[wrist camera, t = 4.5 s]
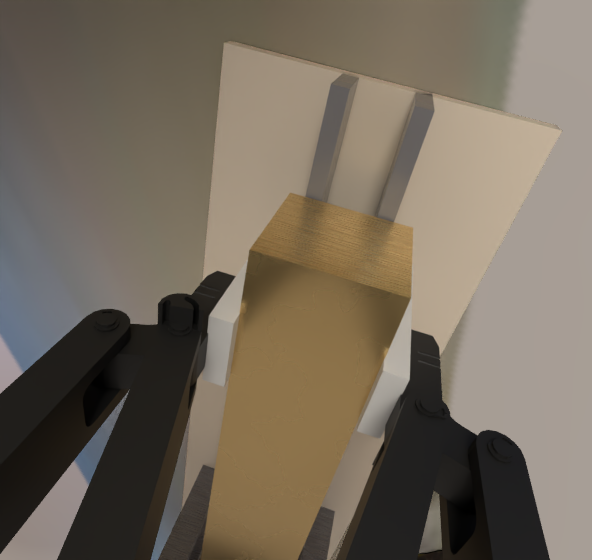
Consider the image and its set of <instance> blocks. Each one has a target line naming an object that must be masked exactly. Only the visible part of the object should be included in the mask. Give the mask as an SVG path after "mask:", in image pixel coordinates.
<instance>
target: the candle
mask: <svg viewBox="0 0 592 560" xmlns="http://www.w3.org/2000/svg"><path fill="white" fill-rule="evenodd" d="M417 560H443V551H437V552H432V553H428V554H418V557H417Z"/></svg>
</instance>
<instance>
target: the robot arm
mask: <svg viewBox="0 0 592 560" xmlns="http://www.w3.org/2000/svg"><path fill="white" fill-rule="evenodd" d="M247 262H248V259H247V261H246V262H245V264H244V265H243V267H242V268H241V270H240V271H239V273H238V274H237V275H236V276H233V275H230V274H227V273H224V272H220V271H216V272H214V273H212V274H210V275H208V276H206V278H205V279H204V280H203V281H202V283H201V284H200V286H198V288H197V289H196V290H195V292H194V293H193V294H192V295H188V294H178V293H177V294H172V295H168V296H166V297H165V298H163V299H162V300H161V301H160V302H159V303H158V324H156V325H140V324H130V318H129V317H128V316H127V314H125V313H123V312H121V311H119V310H114V309H102V310H99V311H95V312H93V313H91V314H90V315H88V316H86V317H85V318H84V319H83V320H82V321H81V322H80V323H79V324H78V325H76V326H75V327H74V328H73V329H72V330H71V331H70V332H69V333H67V334H66V335H65V336H64V337H63V338H62V339H61V340H60V341H59V342H57V343H56V344H55V345H54V346H53V347H52V348H51V349H50V350H49V351H47V352H46V353H45V354H44V355H43V356H42V357H41V358H40V359H38V360H37V361H36V362H35V363H34V364H33V365H32V366H31V367H30V368H28V369H27V370H26V371H25V372H24V373H23V374H22V375H21V376H20V377H18V379H16V380H15V381H14V382H13V383H12V384H11V385H10V386H8V387H7V388H6V389H5V390H4V391H3V392H2V393H1V394H0V554H1V552H2V551H3V550H4V548H5V547H6V546H7V545H8V543H9V542H10V541H11V540H12V538H13V537H14V536H15V534H16V533H17V532H18V531H19V529H20V528H21V527H22V526H23V524H24V523H25V522H26V521H27V519H28V518H29V517H30V515H31V514H32V513H33V512H34V510H35V509H36V508H37V507H38V505H39V504H40V503H41V501H42V500H43V499H44V497H45V496H46V495H47V494H48V493H49V491H50V490H51V489H52V487H53V486H54V485H55V484H56V482H57V481H58V480H59V479H60V477H61V476H62V474H64V472H65V471H66V470H67V468H68V467H69V466H70V465H71V463H72V462H73V461H74V460H75V458H76V457H77V456H78V454H79V453H80V452H81V451H82V449H83V448H84V447H85V446H86V444H87V443H88V442H89V440H90V439H91V438H92V437H93V435H94V434H95V433H96V432H97V430H98V429H99V428H100V427H101V425H102V424H103V423H104V421H105V420H106V419H107V418H108V416H109V415H110V414H111V413H112V411H113V410H114V409H115V407H116V406H117V405H118V404H119V402H120V401H121V400H122V399H123V397H124V396H125V395H126V393H127V392H128V391H129V389H130V391H129V393H128V396H127V398H126V400H125V403H124V405H123V407H122V410H121V412H120V414H119V417H118V419H117V421H116V424H115V426H114V428H113V431H112V433H111V435H110V438H109V440H108V442H107V445H106V447H105V449H104V452H103V454H102V456H101V458H100V461H99V463H98V465H97V468H96V470H95V472H94V475H93V477H92V479H91V482H90V484H89V486H88V489H87V491H86V493H85V496H84V498H83V500H82V503H81V505H80V508H79V510H78V512H77V515H76V517H75V519H74V522H73V524H72V526H71V529H70V531H69V533H68V535H67V538H66V540H65V542H64V545H63V547H62V549H61V552H60V554H59V556H58V559H57V560H151V556H152V552H153V549H154V545H155V541H156V537H157V534H158V530H159V526H160V522H161V519H162V515H163V511H164V508H165V504H166V500H167V496H168V493H169V489H170V485H171V481H172V478H173V474H174V470H175V466H176V463H177V459H178V455H179V451H180V448H181V444H182V440H183V437H184V433H185V429H186V425H187V422H188V418H189V414H190V410H191V407H192V403H193V399H194V395H195V392H196V386H197V379H198V377H199V376H200V374H201V372H202V371H203V377H202V380H205V381H208V382H211V383H214V384H217V385H220V386H223V387H224V386H225V385H226V383H227V381H228V379H229V377H230V372H231V366H232V360H233V353H234V347H235V341H236V334H237V328H238V322H239V315H240V306H241V300H242V294H243V287H244V281H245V275H246V268H247ZM412 287H413V264H412V285H411V300H410V302H409V304H408V307H407V309H406V311H405V314H404V316H403V318H402V320H401V323H400V325H399V327H398V330H397V332H396V334H395V337H394V339H393V341H392V344H391V346H390V348H389V350H388V353H387V355H386V357H385V359H384V361H383V363H382V365H381V368H380V370H379V372H378V374H377V377H376V379H375V381H374V384H373V386H372V388H371V391H370V393H369V395H368V398H367V400H366V402H365V405H364V407H363V409H362V412H361V414H360V416H359V418H358V425H357V431H358V432H361V433H364V434H367V435H370V436H373V437H376V438H379V439H380V438H381V436H382V434H383V432H384V430H385V436H384V442H383V444H382V446H381V448H380V450H379V452H378V454H377V456H376V457H375V459H374V461H373V463H372V465H373V467H372V470H371V472H370V475H369V478H368V480H367V483H366V485H365V488H364V490H363V493H362V495H361V498H360V501H359V503H358V506H357V508H356V511H355V513H354V516H353V518H352V521H351V524H350V526H349V529H348V531H347V534H346V536H345V539H344V541H343V544H342V547H341V549H340V552H339V554H338V557H337V559H336V560H417V557H418V553H419V549H420V545H421V540H422V536H423V532H424V528H425V524H426V519H427V515H428V511H429V507H430V503H431V498H432V494H433V490H434V491H435V492H437V493H438V494H440V495H439V497H440V515H441V533H442V551H443V560H550V558H549V555H548V550H547V546H546V542H545V538H544V534H543V530H542V526H541V522H540V518H539V514H538V510H537V506H536V502H535V498H534V494H533V490H532V486H531V482H530V478H529V474H528V470H527V466H526V462H525V458H524V456H523V454H522V452H521V450H520V448H518V446H517V445H516V444H515V443H514V442H513V441H512V440H511V439H510V438H508V437H507V436H505V435H503V434H501V433H499V432H497V431H491V430H486V431H482V432H480V433H479V435H478V436H477V435H476V434H474V433H472V432H471V431H469V430H468V429H466V428H464V427H462V426H461V425H460V424H458V423H457V422H455V421H454V420H453V419H452V418H451V417H450V411H449V409H448V407H447V405H446V404H445V403H444V402H443V401H442V388H441V369H440V360H439V359H440V351H439V346H438V344H437V342H436V340H435V339H434V337H433V336H432V335H428V334H425V333H422V332H419V331H415V330H412V329H411V320H412Z"/></svg>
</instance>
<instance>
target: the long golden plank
mask: <svg viewBox="0 0 592 560" xmlns="http://www.w3.org/2000/svg"><path fill="white" fill-rule="evenodd" d="M412 251H413V227H409V226H406V225H402V224H399V223H395V222H392V221H388V220H385V219H381V218H378V217H374V216H371V215H367V214H364V213H360V212H357V211H353V210H350V209H346V208H343V207H339V206H336V205H332V204H329V203H325V202H322V201H318V200H315V199H311V198H308V197H304V196H301V195H297V194H294V193H289V195H288V196H287V198H286V199H285V200H284V202H283V203H282V205H281V206H280V207H279V209H278V210H277V212H276V213H275V215H274V216H273V217H272V219H271V220H270V222H269V223H268V224H267V226H266V227H265V229H264V230H263V231H262V233H261V234H260V236H259V237H258V238H257V240H256V241H255V243H254V244H253V245H252V247H251V248H250V250H249V256H248V262H247V268H246V275H245V281H244V287H243V294H242V300H241V306H240V315H239V322H238V328H237V334H236V341H235V347H234V353H233V360H232V366H231V372H230V377H229V382H228V388H227V395H226V401H225V407H224V414H223V420H222V426H221V433H220V439H219V445H218V452H217V458H216V464H215V470H214V477H213V483H212V489H211V496H210V502H209V508H208V515H207V521H206V527H205V534H204V540H203V546H202V553H201V559H200V560H298V558H299V555H300V553H301V551H302V548H303V546H304V544H305V542H306V539H307V537H308V535H309V532H310V530H311V528H312V525H313V523H314V521H315V519H316V516H317V514H318V512H319V509H320V507H321V505H322V502H323V500H324V498H325V495H326V493H327V491H328V489H329V486H330V484H331V482H332V479H333V477H334V475H335V472H336V470H337V468H338V466H339V463H340V461H341V459H342V456H343V454H344V452H345V449H346V447H347V445H348V443H349V440H350V438H351V436H352V433H353V431H354V429H355V426H356V424H357V422H358V418H359V416H360V414H361V412H362V409H363V407H364V405H365V402H366V400H367V398H368V395H369V393H370V391H371V388H372V386H373V384H374V381H375V379H376V377H377V374H378V372H379V370H380V368H381V365H382V363H383V361H384V359H385V357H386V355H387V353H388V350H389V348H390V346H391V344H392V341H393V339H394V337H395V334H396V332H397V330H398V327H399V325H400V323H401V320H402V318H403V316H404V314H405V311H406V309H407V307H408V304H409V302H410V300H411V285H412Z"/></svg>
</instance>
